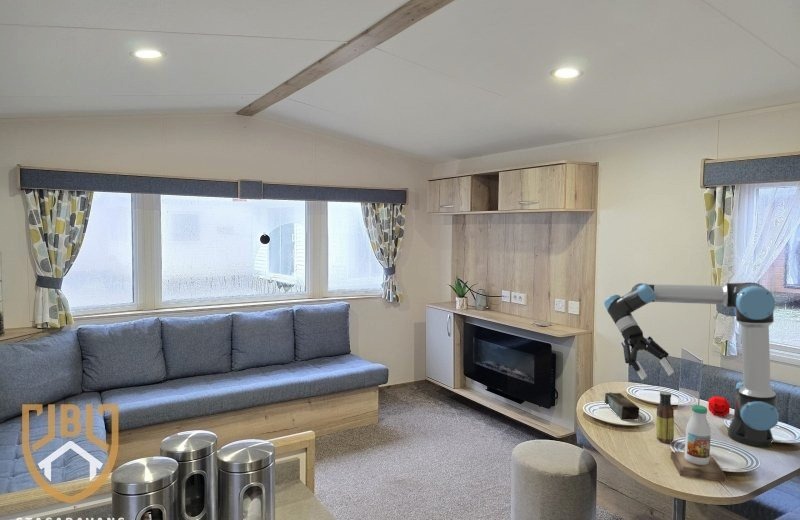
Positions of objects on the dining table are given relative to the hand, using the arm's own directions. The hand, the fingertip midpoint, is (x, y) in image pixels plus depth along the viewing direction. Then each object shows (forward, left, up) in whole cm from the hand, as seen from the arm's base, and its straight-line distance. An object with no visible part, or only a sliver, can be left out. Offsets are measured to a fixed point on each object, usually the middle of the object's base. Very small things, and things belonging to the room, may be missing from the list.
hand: (658, 376), depth 198 cm
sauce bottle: (-5, -9, -29) cm, 31 cm away
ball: (-35, -45, -29) cm, 64 cm away
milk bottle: (-11, +13, -26) cm, 31 cm away
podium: (-11, +13, -29) cm, 34 cm away
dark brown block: (+7, -36, -30) cm, 47 cm away
